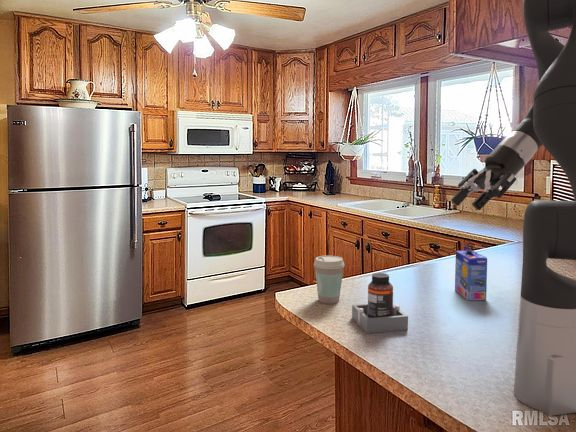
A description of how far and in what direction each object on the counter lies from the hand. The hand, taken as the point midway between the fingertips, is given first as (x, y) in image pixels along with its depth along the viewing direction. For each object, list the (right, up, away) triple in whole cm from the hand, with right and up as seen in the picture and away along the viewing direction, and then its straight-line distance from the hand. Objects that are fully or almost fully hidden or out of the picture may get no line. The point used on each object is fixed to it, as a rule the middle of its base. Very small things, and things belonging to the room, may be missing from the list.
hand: (464, 205), depth 103 cm
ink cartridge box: (+12, -26, +25) cm, 38 cm away
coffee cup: (-29, -26, +21) cm, 45 cm away
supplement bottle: (-19, -28, +4) cm, 34 cm away
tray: (-19, -28, +4) cm, 34 cm away
